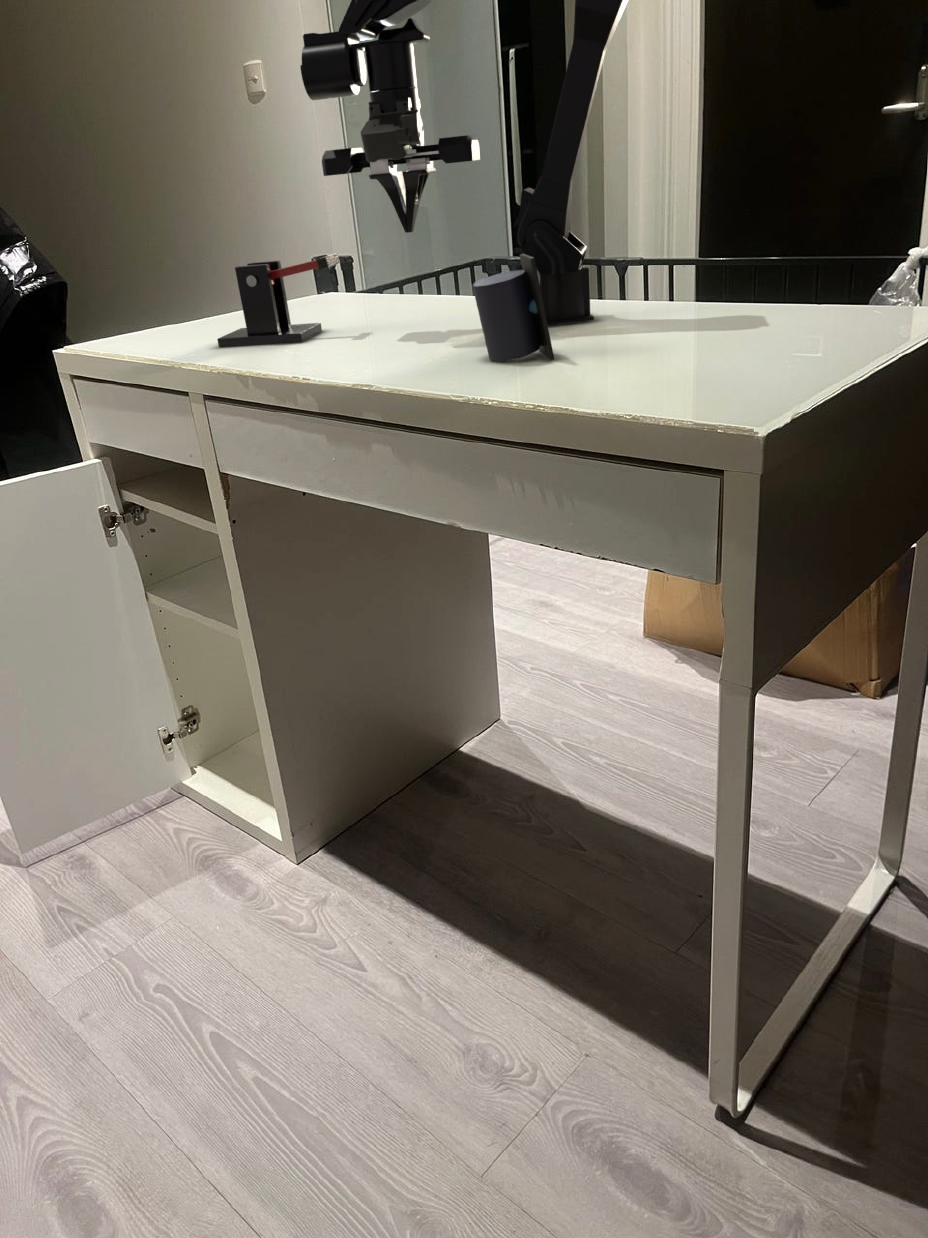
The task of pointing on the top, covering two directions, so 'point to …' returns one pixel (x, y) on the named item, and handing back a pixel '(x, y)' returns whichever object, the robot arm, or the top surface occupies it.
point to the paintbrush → (306, 266)
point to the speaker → (513, 313)
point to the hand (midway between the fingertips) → (409, 232)
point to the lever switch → (265, 310)
